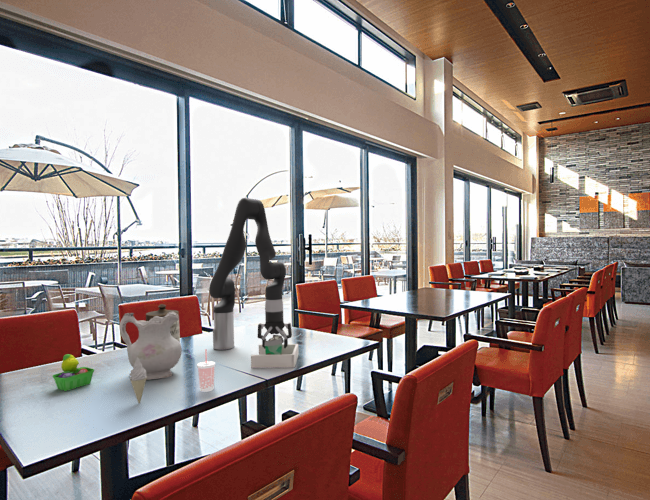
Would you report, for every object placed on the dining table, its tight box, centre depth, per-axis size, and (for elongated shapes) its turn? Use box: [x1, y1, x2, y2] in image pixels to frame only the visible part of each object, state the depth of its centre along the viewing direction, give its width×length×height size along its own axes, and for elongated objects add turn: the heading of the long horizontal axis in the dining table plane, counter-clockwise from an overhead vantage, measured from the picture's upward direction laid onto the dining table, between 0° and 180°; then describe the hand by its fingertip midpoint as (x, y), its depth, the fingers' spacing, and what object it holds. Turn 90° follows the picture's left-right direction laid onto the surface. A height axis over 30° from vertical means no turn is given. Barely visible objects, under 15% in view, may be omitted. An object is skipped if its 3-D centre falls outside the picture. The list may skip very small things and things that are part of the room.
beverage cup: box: [196, 348, 216, 393], centre depth 146 cm, size 6×6×14 cm
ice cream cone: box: [129, 357, 147, 404], centre depth 134 cm, size 5×5×15 cm
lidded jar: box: [145, 303, 181, 343], centre depth 199 cm, size 15×15×22 cm
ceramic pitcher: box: [119, 312, 183, 381], centre depth 162 cm, size 22×20×25 cm
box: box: [250, 343, 300, 369], centre depth 178 cm, size 18×18×5 cm
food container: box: [265, 334, 284, 355], centre depth 178 cm, size 12×6×10 cm, turn 170°
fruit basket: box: [52, 353, 95, 392], centre depth 152 cm, size 11×9×11 cm
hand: (275, 348), depth 178 cm, fingers open, 8 cm apart
